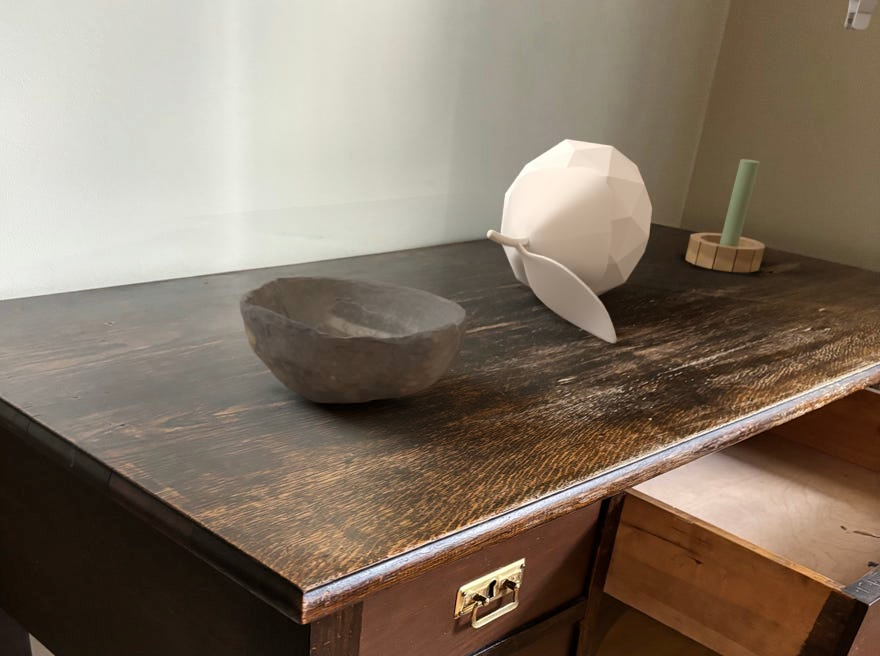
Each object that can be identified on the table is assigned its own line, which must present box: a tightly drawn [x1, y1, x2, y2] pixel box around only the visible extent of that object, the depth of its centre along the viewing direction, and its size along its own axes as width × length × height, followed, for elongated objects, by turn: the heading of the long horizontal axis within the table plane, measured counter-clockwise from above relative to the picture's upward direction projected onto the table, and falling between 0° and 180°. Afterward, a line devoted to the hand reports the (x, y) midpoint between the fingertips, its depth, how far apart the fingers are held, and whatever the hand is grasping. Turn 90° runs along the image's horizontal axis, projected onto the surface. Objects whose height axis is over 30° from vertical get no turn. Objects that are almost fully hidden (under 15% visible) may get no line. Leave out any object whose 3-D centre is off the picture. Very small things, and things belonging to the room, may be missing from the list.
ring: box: [685, 232, 766, 273], centre depth 131 cm, size 10×10×3 cm
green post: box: [720, 158, 761, 246], centre depth 128 cm, size 8×8×14 cm
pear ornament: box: [486, 138, 653, 344], centre depth 105 cm, size 16×22×28 cm
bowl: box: [239, 275, 468, 404], centre depth 78 cm, size 18×18×8 cm
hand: (854, 29), depth 124 cm, fingers open, 4 cm apart
